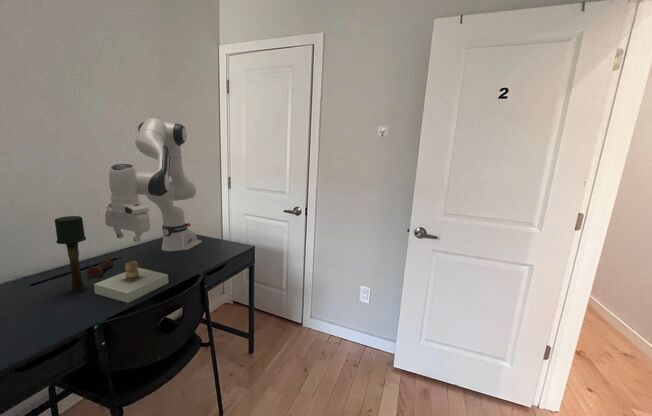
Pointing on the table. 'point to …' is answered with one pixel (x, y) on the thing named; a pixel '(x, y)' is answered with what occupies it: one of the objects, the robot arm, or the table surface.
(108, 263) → the bolt
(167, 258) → the table surface
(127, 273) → the peg
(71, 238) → the grenade
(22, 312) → the table surface
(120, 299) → the board
